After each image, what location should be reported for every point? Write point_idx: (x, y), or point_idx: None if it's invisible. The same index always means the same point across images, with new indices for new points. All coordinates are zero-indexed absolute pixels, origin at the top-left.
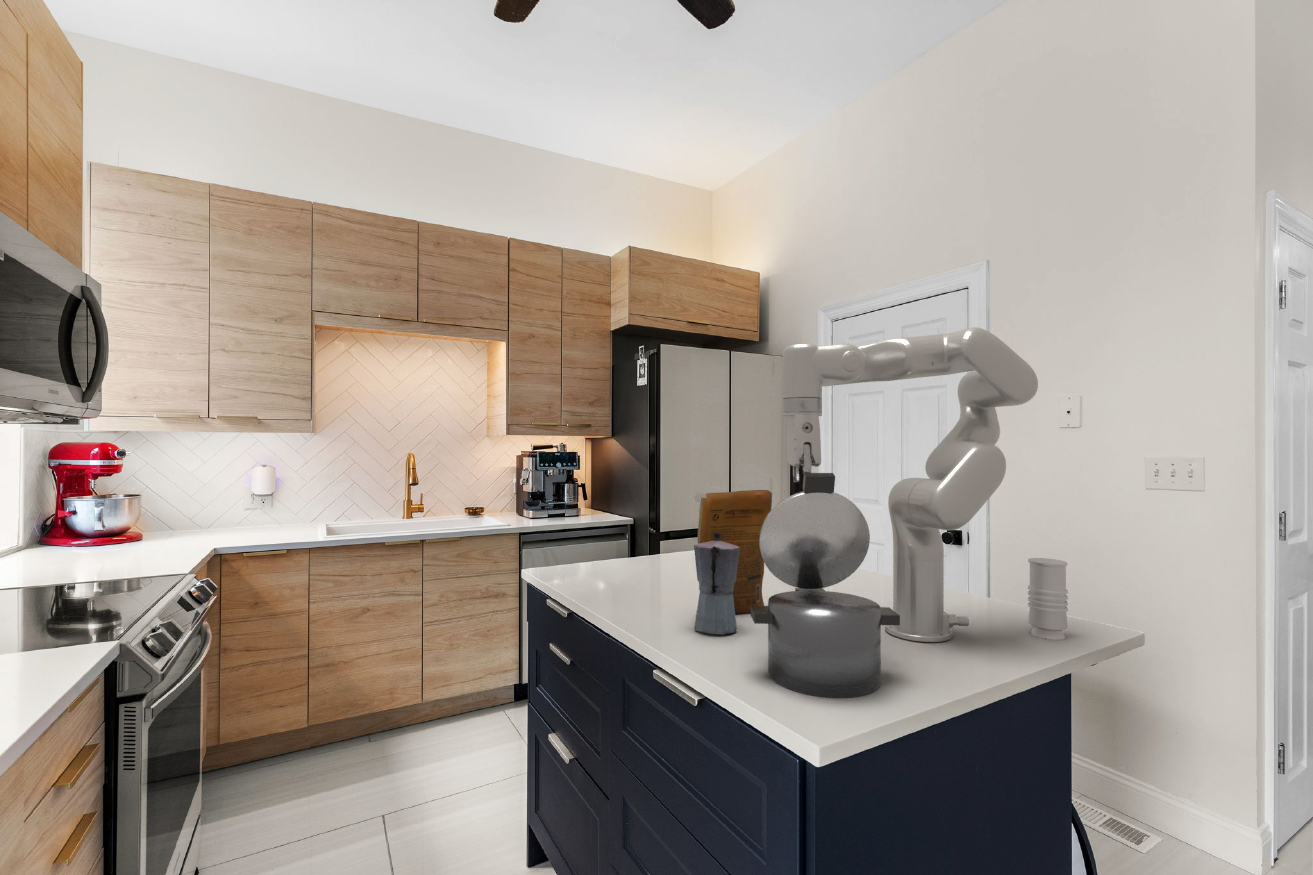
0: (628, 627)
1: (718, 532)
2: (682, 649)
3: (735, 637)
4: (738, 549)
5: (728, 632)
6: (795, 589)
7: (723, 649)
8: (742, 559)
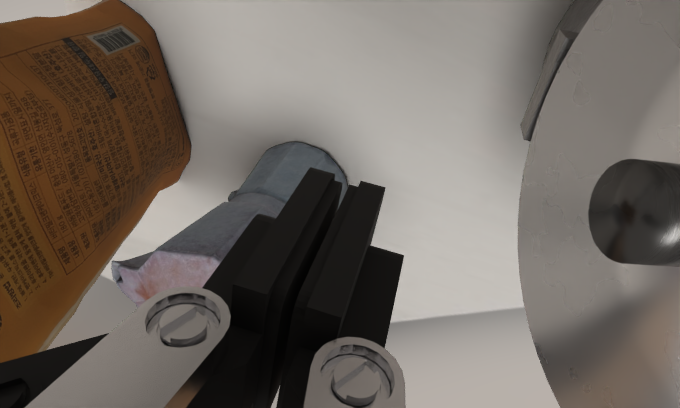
0: None
1: (14, 262)
2: (416, 283)
3: (358, 164)
4: None
5: (345, 179)
6: (526, 138)
7: (434, 216)
8: (72, 137)
